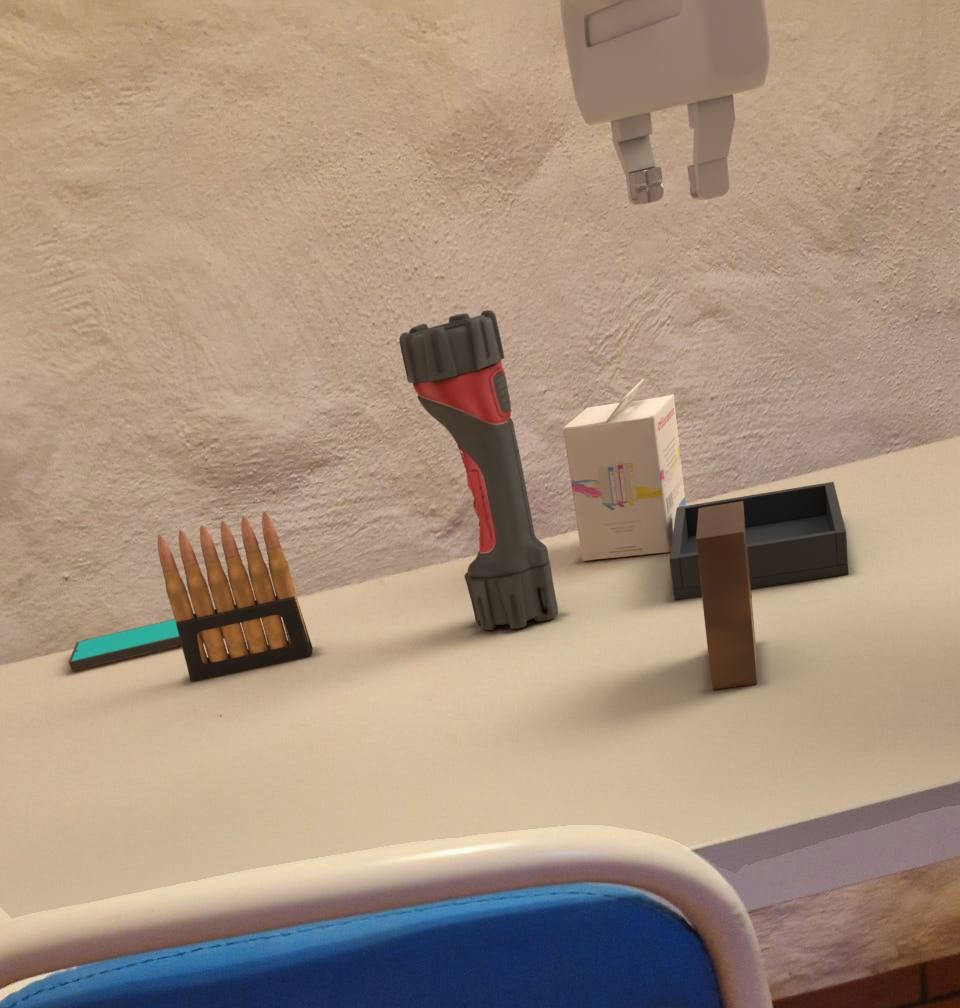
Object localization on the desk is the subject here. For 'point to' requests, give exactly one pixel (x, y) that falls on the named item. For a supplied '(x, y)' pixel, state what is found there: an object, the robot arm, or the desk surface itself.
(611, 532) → the ink box
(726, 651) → the walnut block
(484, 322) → the flashlight
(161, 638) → the smartphone
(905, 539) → the desk surface
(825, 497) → the dark gray tray
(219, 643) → the ammunition clip
